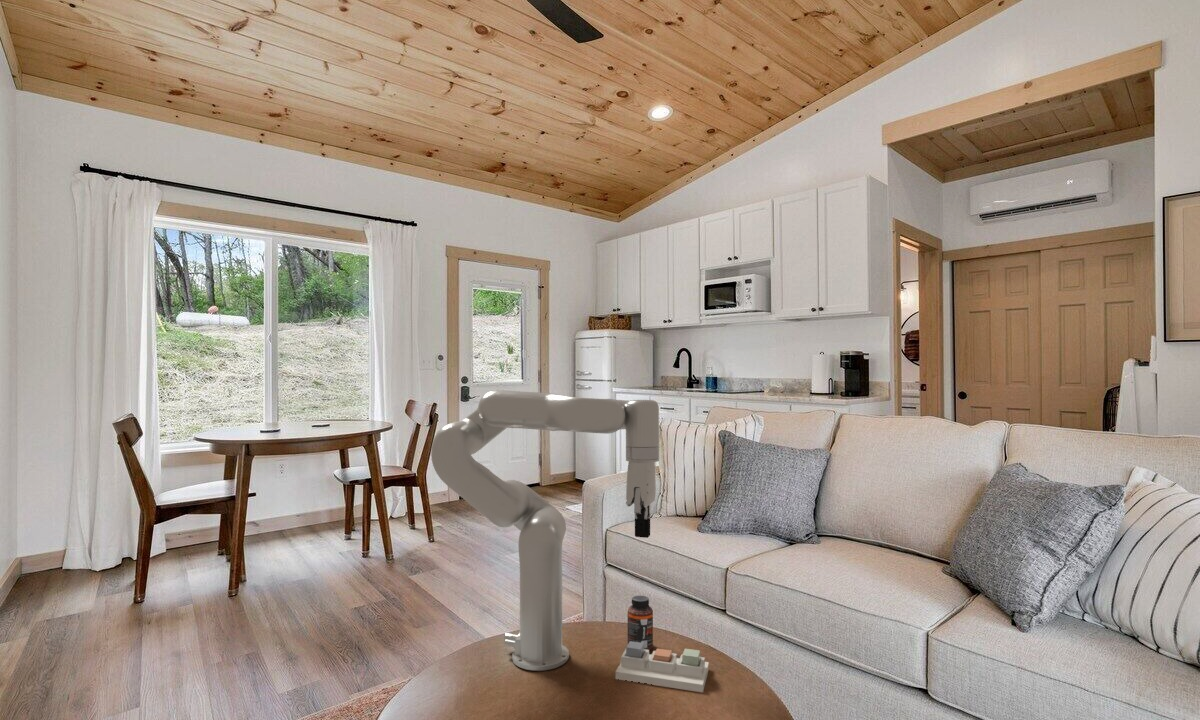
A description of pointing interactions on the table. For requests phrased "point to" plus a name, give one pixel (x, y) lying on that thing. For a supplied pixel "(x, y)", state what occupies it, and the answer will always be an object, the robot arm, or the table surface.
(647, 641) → the supplement bottle
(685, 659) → the sage button
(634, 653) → the slate button
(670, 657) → the terracotta button
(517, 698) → the table surface
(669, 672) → the button console
